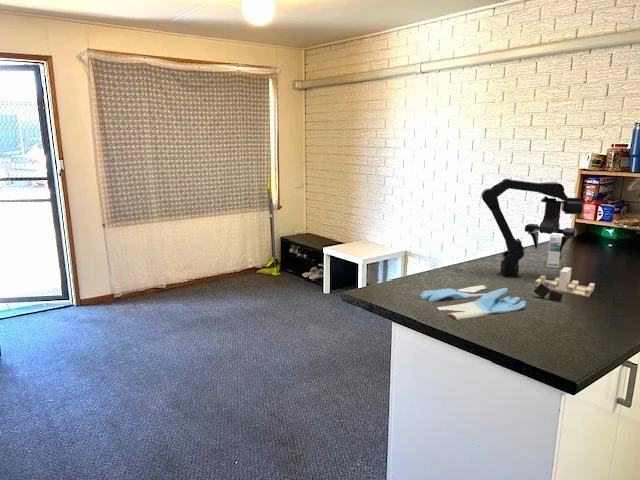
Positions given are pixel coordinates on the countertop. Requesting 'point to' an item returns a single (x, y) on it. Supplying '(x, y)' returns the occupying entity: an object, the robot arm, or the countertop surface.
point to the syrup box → (554, 251)
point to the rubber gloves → (474, 302)
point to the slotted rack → (572, 288)
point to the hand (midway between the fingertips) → (548, 250)
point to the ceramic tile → (564, 278)
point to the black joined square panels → (544, 290)
